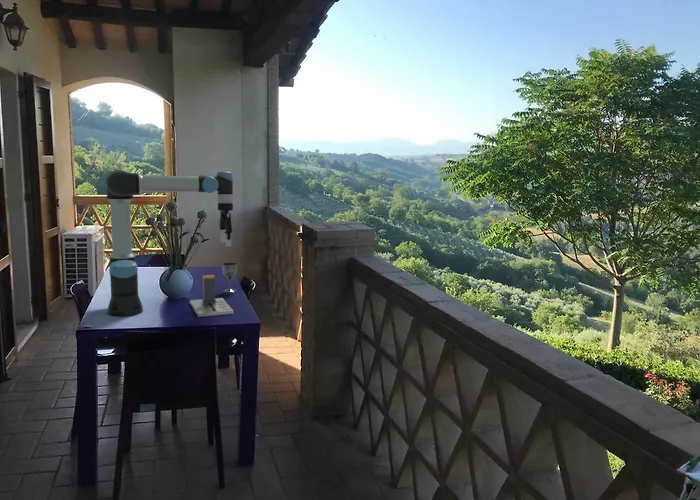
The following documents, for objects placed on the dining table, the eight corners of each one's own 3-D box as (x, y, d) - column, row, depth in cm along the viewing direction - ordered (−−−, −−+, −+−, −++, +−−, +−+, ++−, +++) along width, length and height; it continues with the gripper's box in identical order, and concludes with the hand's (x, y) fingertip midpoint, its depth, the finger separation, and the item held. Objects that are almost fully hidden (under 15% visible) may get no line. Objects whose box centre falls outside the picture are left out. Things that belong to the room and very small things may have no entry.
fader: (203, 303, 274) (203, 277, 272) (202, 300, 279) (201, 275, 277) (216, 302, 276) (215, 276, 274) (214, 300, 281) (214, 274, 279)
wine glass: (233, 292, 306) (233, 265, 303) (220, 291, 307) (219, 264, 305) (239, 289, 314) (239, 262, 311) (226, 288, 315) (225, 262, 313)
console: (198, 317, 258) (198, 313, 258) (190, 303, 282) (189, 300, 282) (233, 314, 265) (233, 310, 264) (222, 300, 288) (222, 297, 288)
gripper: (238, 204, 278) (238, 247, 281) (227, 200, 300) (228, 240, 304) (222, 204, 275) (223, 248, 278) (213, 200, 297) (213, 240, 301)
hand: (225, 244), depth 291 cm, fingers open, 13 cm apart
